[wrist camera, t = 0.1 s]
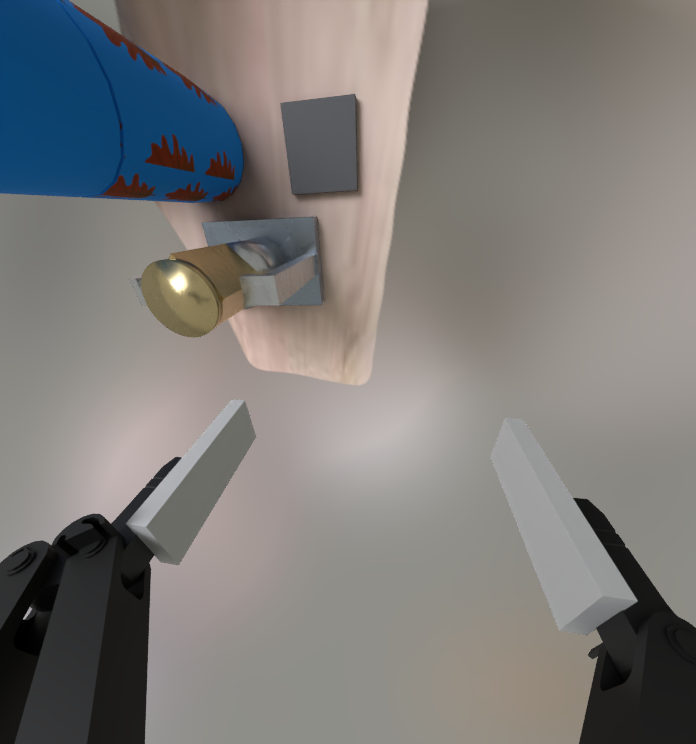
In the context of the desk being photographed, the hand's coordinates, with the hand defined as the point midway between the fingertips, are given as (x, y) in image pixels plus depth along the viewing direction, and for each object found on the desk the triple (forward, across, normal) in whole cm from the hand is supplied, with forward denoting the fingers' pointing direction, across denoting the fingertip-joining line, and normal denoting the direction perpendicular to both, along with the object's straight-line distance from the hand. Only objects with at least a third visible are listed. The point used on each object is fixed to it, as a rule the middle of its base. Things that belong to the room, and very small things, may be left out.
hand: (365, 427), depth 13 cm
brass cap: (+18, -16, +4) cm, 25 cm away
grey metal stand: (+28, -16, +4) cm, 33 cm away
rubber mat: (+28, -7, +16) cm, 33 cm away
